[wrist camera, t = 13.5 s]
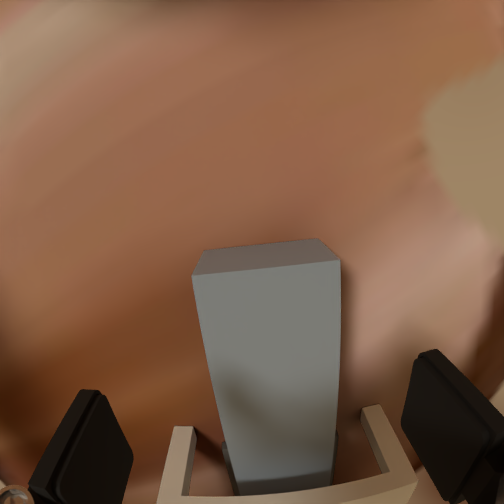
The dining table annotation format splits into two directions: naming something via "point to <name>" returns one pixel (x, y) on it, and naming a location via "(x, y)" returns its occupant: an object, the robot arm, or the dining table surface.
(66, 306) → the dining table surface
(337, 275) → the grey rectangular block
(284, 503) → the low shelf
